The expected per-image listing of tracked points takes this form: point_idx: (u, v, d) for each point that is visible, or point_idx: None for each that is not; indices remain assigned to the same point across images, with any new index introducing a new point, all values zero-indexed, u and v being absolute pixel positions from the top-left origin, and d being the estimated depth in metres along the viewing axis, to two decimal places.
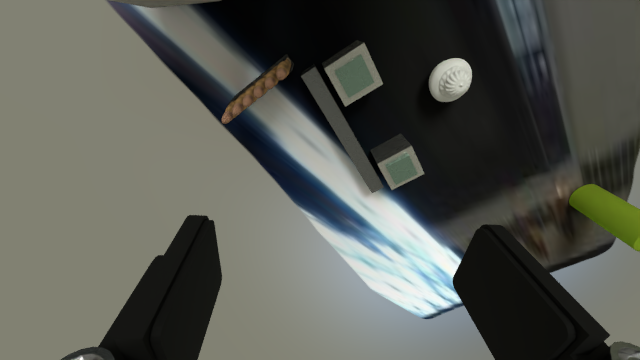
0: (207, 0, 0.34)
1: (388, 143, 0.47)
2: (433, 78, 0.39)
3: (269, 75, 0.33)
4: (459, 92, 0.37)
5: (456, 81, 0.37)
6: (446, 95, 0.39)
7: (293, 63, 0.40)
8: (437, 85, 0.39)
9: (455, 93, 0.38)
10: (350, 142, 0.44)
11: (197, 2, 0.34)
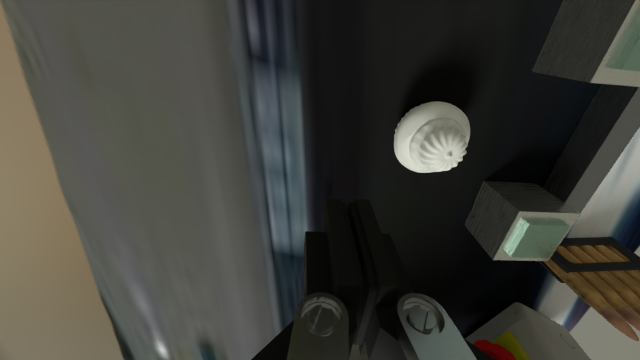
0: (539, 321, 0.37)
1: None
2: None
3: None
4: (458, 143, 0.19)
5: (450, 164, 0.20)
6: (464, 135, 0.21)
7: None
8: None
9: (462, 144, 0.19)
10: (617, 138, 0.24)
11: (541, 318, 0.38)
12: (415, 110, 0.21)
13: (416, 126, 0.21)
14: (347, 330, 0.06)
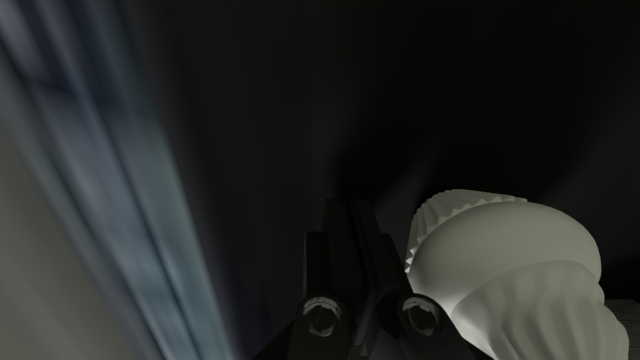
0: None
1: None
2: None
3: None
4: None
5: None
6: None
7: None
8: None
9: (622, 356, 0.07)
10: None
11: None
12: (472, 228, 0.08)
13: (477, 276, 0.08)
14: (347, 330, 0.06)
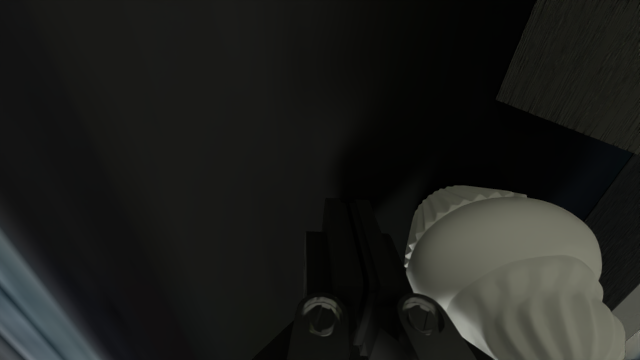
0: None
1: None
2: None
3: None
4: (609, 356, 0.06)
5: None
6: None
7: None
8: None
9: None
10: None
11: None
12: (468, 223, 0.08)
13: (472, 271, 0.08)
14: (347, 330, 0.06)
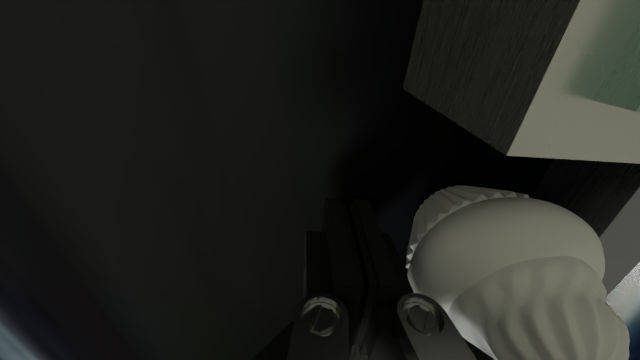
0: None
1: None
2: None
3: None
4: (614, 358, 0.06)
5: None
6: None
7: None
8: None
9: (622, 354, 0.06)
10: (615, 252, 0.10)
11: None
12: (470, 224, 0.08)
13: (474, 272, 0.08)
14: (347, 330, 0.06)
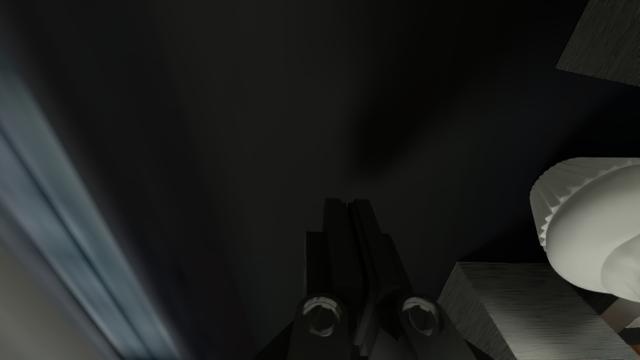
0: None
1: None
2: None
3: None
4: None
5: None
6: None
7: None
8: None
9: None
10: None
11: None
12: (634, 182, 0.09)
13: None
14: (347, 330, 0.06)
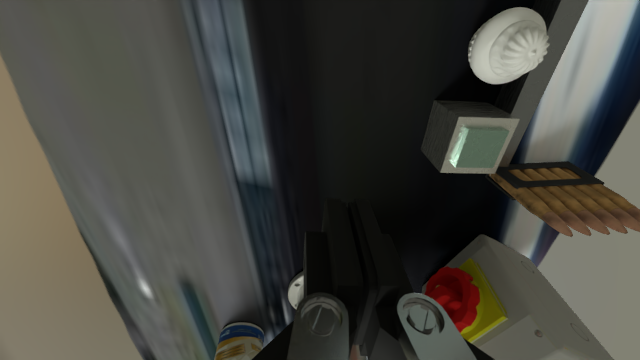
0: (500, 249, 0.39)
1: None
2: None
3: None
4: (542, 40, 0.21)
5: (531, 64, 0.22)
6: None
7: None
8: None
9: (546, 42, 0.21)
10: (555, 40, 0.24)
11: (504, 248, 0.40)
12: (497, 16, 0.22)
13: (499, 30, 0.22)
14: (347, 330, 0.06)
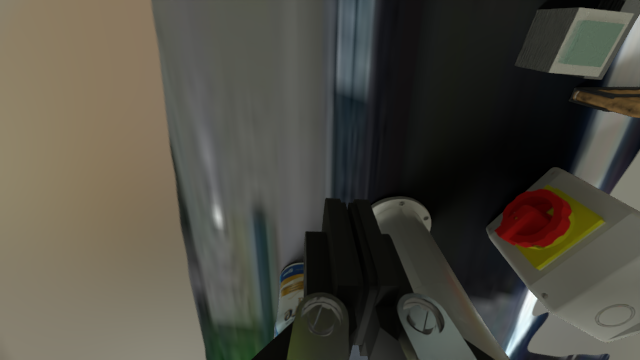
0: None
1: None
2: None
3: None
4: None
5: None
6: None
7: (575, 89, 0.36)
8: None
9: None
10: None
11: None
12: None
13: None
14: (347, 330, 0.06)
